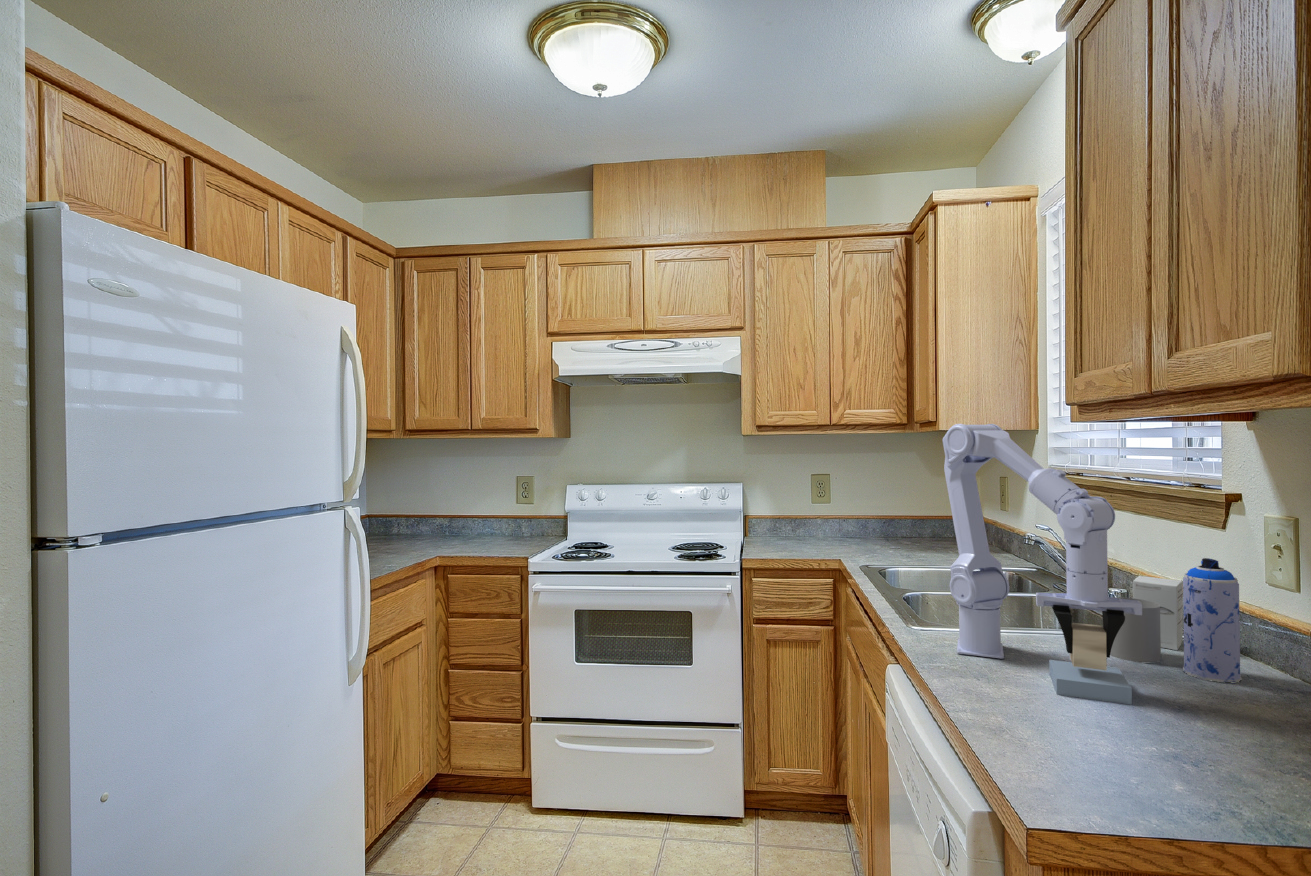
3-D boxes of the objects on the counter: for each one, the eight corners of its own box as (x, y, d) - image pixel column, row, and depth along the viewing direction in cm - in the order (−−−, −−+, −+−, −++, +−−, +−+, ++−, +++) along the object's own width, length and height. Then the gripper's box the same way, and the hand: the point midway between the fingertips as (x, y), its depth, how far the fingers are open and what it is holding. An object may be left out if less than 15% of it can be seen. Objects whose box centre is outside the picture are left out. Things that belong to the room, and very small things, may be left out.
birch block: (1070, 658, 112) (1069, 622, 112) (1102, 661, 110) (1101, 625, 110) (1073, 666, 108) (1073, 629, 108) (1106, 670, 106) (1106, 632, 106)
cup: (1163, 665, 120) (1162, 610, 120) (1107, 658, 124) (1107, 604, 124) (1157, 652, 127) (1156, 600, 127) (1105, 646, 131) (1104, 595, 131)
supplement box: (1131, 643, 133) (1130, 580, 133) (1139, 635, 138) (1138, 574, 138) (1178, 651, 127) (1177, 585, 127) (1184, 642, 133) (1183, 579, 133)
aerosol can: (1178, 664, 120) (1176, 554, 120) (1234, 671, 116) (1232, 557, 116) (1188, 678, 113) (1186, 561, 113) (1248, 686, 109) (1246, 564, 109)
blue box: (1049, 676, 116) (1049, 659, 116) (1118, 685, 112) (1118, 667, 112) (1056, 697, 107) (1056, 678, 107) (1131, 707, 103) (1131, 688, 103)
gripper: (1037, 571, 109) (1038, 654, 109) (1145, 579, 102) (1147, 667, 102) (1034, 564, 115) (1035, 642, 115) (1136, 571, 109) (1137, 653, 109)
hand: (1087, 653), depth 109 cm, fingers closed on birch block, 4 cm apart
